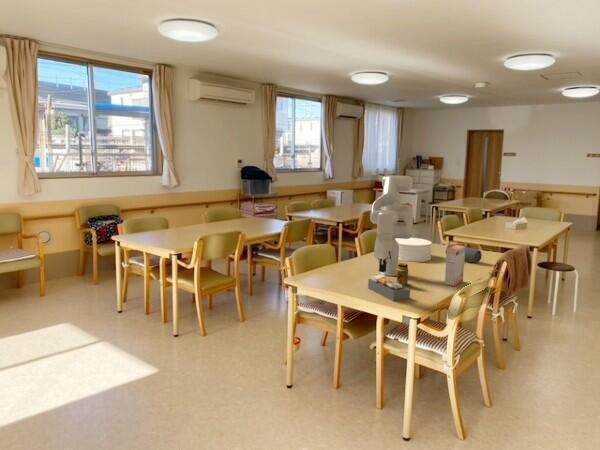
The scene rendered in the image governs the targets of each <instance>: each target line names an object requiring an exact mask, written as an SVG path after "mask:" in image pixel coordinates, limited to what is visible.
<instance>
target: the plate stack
mask: <svg viewBox="0 0 600 450" xmlns="http://www.w3.org/2000/svg"><path fill="white" fill-rule="evenodd" d="M395 240H396V241H397V242H398V244H399V255H398V261H399V260H400V261H405V262H426V261H427V262H428V261H430V260H432V259H431V258H432V256H431V255H432V247H433V245H432V244H433V242H432V241H430V240H428V239H426V238H425V239H424V238H417V237H411V238H409V239H400V238H395Z"/></svg>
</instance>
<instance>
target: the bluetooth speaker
mask: <svg viewBox="0 0 600 450" xmlns="http://www.w3.org/2000/svg"><path fill="white" fill-rule="evenodd" d="M455 245H456V244H448V245H447V246H446V249H445V255H446V254H447V249H448V248H451V247H453V246H455ZM482 256H483V255H482V252H481V250H479V249H477V248H472V247H468V246H465V258H464V263H472V262H473V263H479V262H480V261H481V260H482Z"/></svg>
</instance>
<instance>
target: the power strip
mask: <svg viewBox="0 0 600 450" xmlns="http://www.w3.org/2000/svg"><path fill="white" fill-rule="evenodd" d="M367 283H368V285H367V289H369V290H371V291H373V292H374V293H376V294H377V295H381V296H382V297H384V298H386V299H388V300H390V301H392V302H396V301H398V302H399V301H403V300H405V301H406V300H410V299H411V289H410V288H408V287H404V286H402V288H398V289H395V288H392V287H390V286H388V285H386V284H384V283H382V282H380V281H377V282H375V281H373V280H371V278H368V281H367ZM394 283H396V282H395V281H394Z"/></svg>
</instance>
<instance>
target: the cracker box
mask: <svg viewBox="0 0 600 450" xmlns="http://www.w3.org/2000/svg"><path fill="white" fill-rule="evenodd" d="M454 245H455V246H453V247H451V248H448V249H447V254H446V253H445V255H446V256H445V258H446V259H445V274H444V275H445V277H444V285H446V286H451V287H455V286H457V285H459V284H461V283H462V282H463V281H464V271H465V262H464V258H465V247H466V246H464V245H459V244H457V245H456V244H454Z"/></svg>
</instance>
